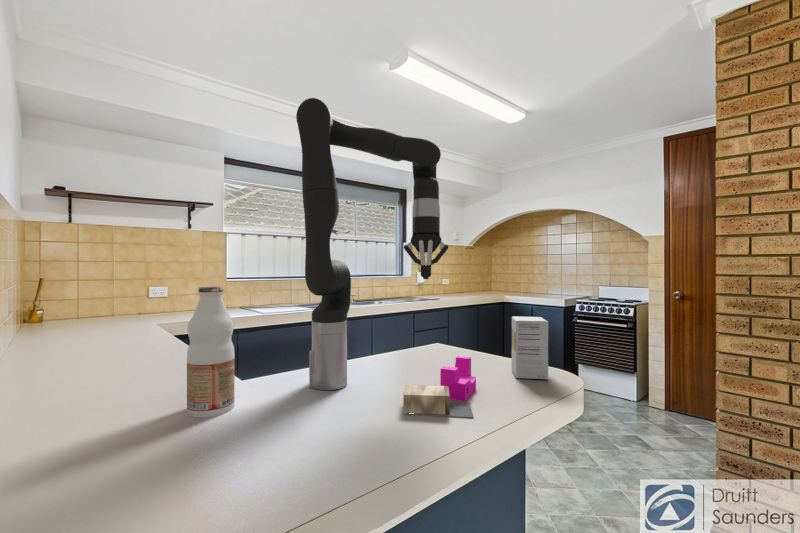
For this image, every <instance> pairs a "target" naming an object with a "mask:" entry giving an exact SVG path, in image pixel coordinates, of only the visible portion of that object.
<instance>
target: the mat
mask: <svg viewBox="0 0 800 533" xmlns="http://www.w3.org/2000/svg"><path fill="white" fill-rule="evenodd" d="M406 414H407V415H406V416H418V417H419V416H422V417H437V418H438V417H440V418H460V419H475V418H474V414H473V411H472V406H471V402H470V401H469V402H468V401H466V402H464V401H450V414H419V413H414V414H409V413H406ZM408 414H409V415H408Z"/></svg>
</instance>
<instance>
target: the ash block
mask: <svg viewBox="0 0 800 533" xmlns="http://www.w3.org/2000/svg"><path fill="white" fill-rule="evenodd" d="M402 397H403V400H402V401H403V402H402V403H403V404H402V405H403V414H405V413H419V414H450V402H451V399H450V396H449V388H448V386H440V385H424V384H423V385H421V384H420V385H419V384H417V385H416V384H412V385H411V384H405V387H404V391H403V396H402Z"/></svg>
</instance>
